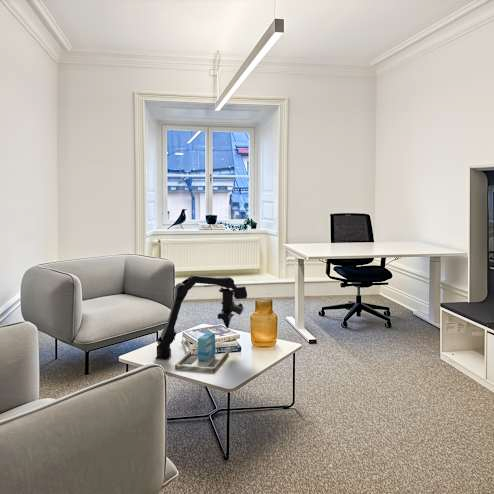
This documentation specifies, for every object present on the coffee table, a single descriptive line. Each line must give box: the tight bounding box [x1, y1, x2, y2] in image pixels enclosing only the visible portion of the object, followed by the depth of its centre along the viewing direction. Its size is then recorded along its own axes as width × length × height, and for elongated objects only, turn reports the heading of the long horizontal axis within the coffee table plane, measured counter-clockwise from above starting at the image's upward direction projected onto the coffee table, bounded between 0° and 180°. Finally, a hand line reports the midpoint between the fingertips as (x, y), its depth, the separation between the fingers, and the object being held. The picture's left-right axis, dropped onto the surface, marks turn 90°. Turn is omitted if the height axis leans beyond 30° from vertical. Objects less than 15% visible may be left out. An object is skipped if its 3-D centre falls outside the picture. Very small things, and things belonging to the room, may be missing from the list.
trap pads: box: [183, 356, 220, 367], centre depth 239 cm, size 17×9×1 cm, turn 77°
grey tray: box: [174, 350, 229, 374], centre depth 239 cm, size 20×26×2 cm
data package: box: [197, 332, 216, 362], centre depth 245 cm, size 12×4×12 cm, turn 159°
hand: (227, 327), depth 255 cm, fingers closed
